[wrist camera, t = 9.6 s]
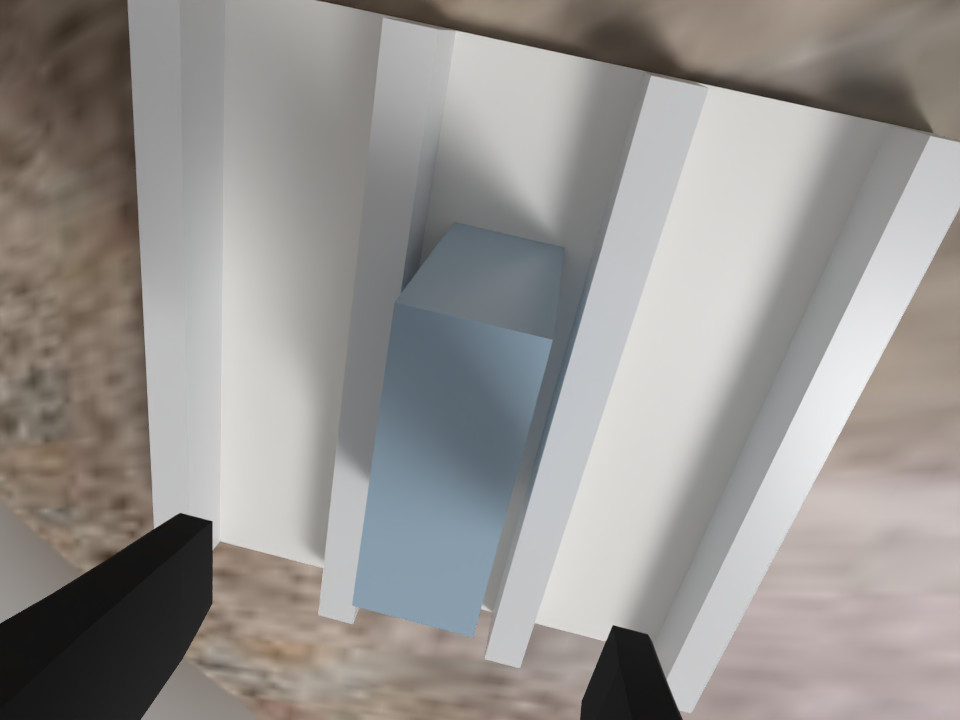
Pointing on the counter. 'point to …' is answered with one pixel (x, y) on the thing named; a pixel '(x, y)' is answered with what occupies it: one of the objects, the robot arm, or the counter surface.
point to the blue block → (454, 423)
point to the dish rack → (580, 310)
